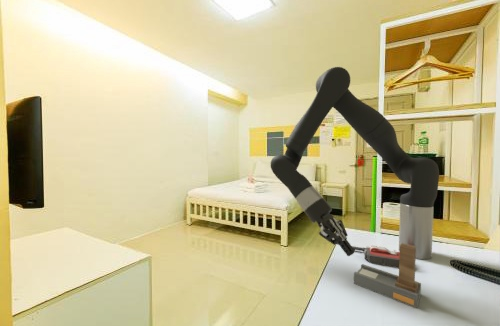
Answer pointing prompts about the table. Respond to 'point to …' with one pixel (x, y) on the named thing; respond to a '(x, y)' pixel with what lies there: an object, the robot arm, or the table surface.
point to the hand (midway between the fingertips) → (352, 253)
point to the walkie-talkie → (380, 255)
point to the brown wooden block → (407, 268)
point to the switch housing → (385, 285)
